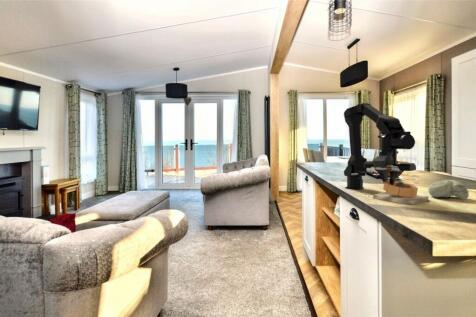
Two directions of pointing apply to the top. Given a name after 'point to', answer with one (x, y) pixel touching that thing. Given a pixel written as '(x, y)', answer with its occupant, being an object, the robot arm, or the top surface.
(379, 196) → the hook stand
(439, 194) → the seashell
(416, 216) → the top surface
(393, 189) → the orange ring
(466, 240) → the top surface
